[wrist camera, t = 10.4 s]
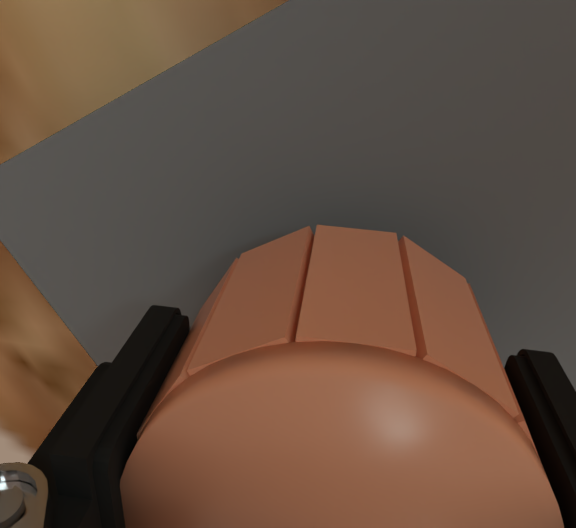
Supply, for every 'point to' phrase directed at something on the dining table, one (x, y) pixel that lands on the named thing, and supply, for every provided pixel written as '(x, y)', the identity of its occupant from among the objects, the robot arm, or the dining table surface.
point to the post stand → (320, 164)
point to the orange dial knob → (337, 400)
